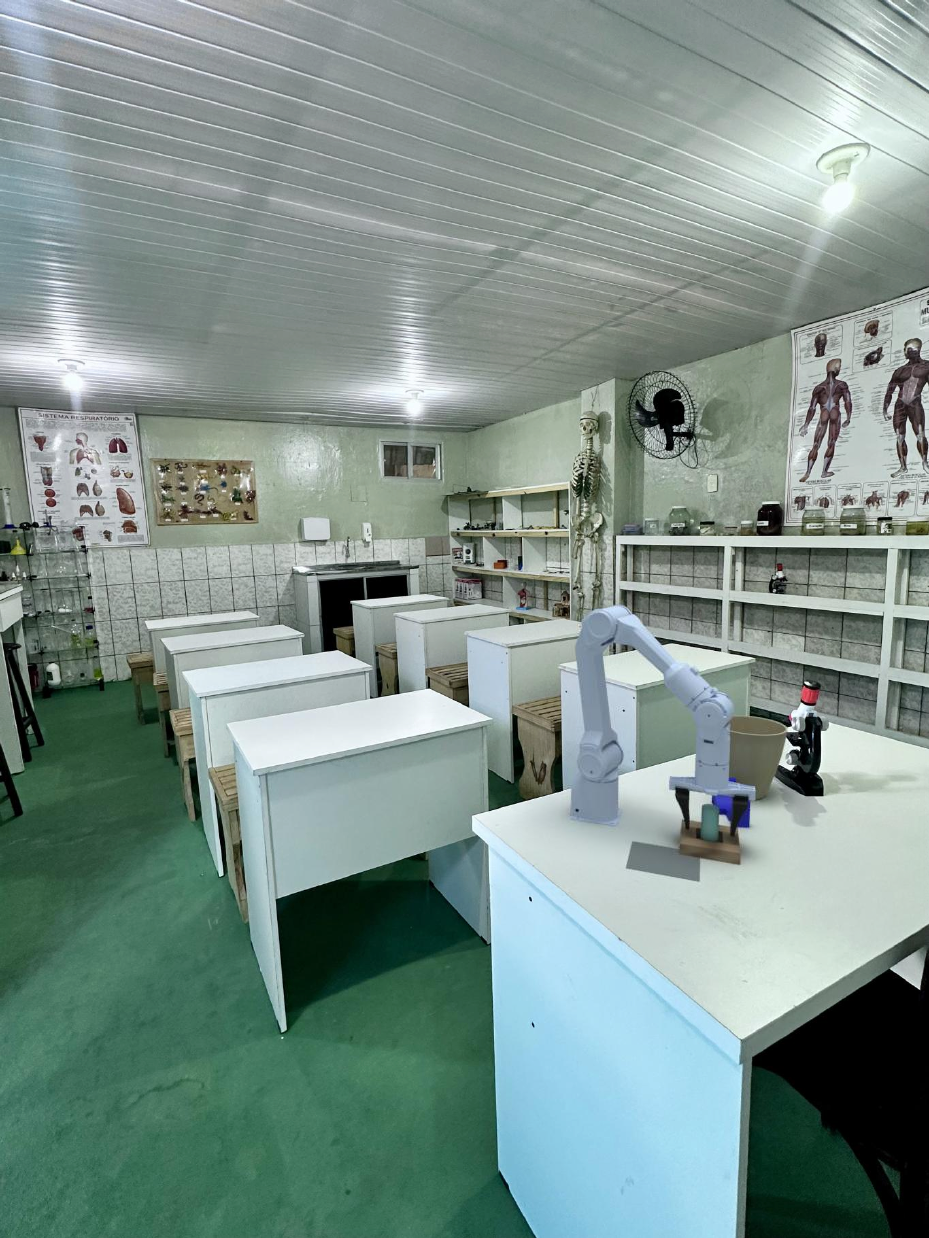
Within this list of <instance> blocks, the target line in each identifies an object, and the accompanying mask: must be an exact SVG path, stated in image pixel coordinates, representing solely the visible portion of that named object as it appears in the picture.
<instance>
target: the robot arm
mask: <svg viewBox="0 0 929 1238" xmlns="http://www.w3.org/2000/svg"><path fill="white" fill-rule="evenodd" d="M630 610H631V609H629V608H628V607H626V606H625V605H622V604H614V605H611V606H609V607H604V608H596V609H594V610H592V611H590V612H589V613H588V614H587V615H586V616H585V617H584V618H583V619H582V620H581V629H580V632H579V633H578V637H577V639H576V642H575V646H574V651H575V659H576V668H577V675H578V678H577V679H578V685H579V694H580V702H581V703H580V704H581V710H582V719H583V727H584V728H583V729H584V732H583V734H582V737H581V738H580V739H581V740H580V741H579V744H578V745H579V754H578V757H577V761H576V762H577V769H578V772H577V771H576V772H575V771H574V773H573V774H572V779H571V788H570V790H571V791H570V801H571V802H570V820H573V821H578V822H579V821H580V822H585V823H593V824H598V825H603V826H611V827H617V826H618V825H619V821H620V819H621V816H622V812H623V809H622V808H620V807H619V777H620V776H619V775H620V774H619V767H620V765H622V763H623V761H624V758H625V757H624V756H625V753H624V749H623V747H622V745H621V744H620V743H619V738H618V733H617V732H616V731H615V730H614V729H613V728H612V723H611V715H610V707H609V697H608V689H607V680H606V672H605V671H606V670H605V663H604V652H606V650H607V649H608V648H609V646H610V645H611V644H612V643H613V644H619V645H623V646H624V645H625V646H631V647H632V648H633V649H635V650H636V651H637V652H638V653H639V654H640V655H641V656H642V657H644V658H645V659H646V660H647V661H648V662H649V663H650V664H652V665H653V667H655V668H656V669H657V670H658V671H659V672H660V673H661V674H663V684H664V685H665V687H666V688H667V689H668V690H670V692H672V694H673V695H674V696H675V697H676V698H677V699H678V700H679V701H680V702H681V703H682V704H684V706H685V707H686V708H687V709H688V710H689V711H691V717H692V720H693V722H694V724H695V725H696V734H695V760H694V764H695V765H694V776H669V780H668V781H669V784H668V789H669V790H670V791H675V793H674V796H675V799H676V802H677V804H678V806H679V808H680V810H681V814H682V817H683V820H684V822H685V829H686V830H689V827H690V821H691V818H690V792H696V793H704V794H705V795H708V796H712V795H714V796H717V795H725V796H732V816H731V822H730V825H729V826H730V836H732V837H735V832H736V828H738V827H737V826H738V823H739V821H740V819H741V817H742V815H743V814H744V812H745V811H746V810H747V808H748V805H749V803H748V800H750V801H754V802H756V799H755V793H756V791H755V787H754V786H747V785H743V784H739V783H734V782H730V781H729V756H730V723H728V722H729V721H730V720H731V719H732V717H733V716H735V709H736V708H735V705H734V703H733V701H732V700H731V698H730V696H729V695H728V694H727V693H724V692H721V691H719V689H718V688H717V687H715V686H713V687H712V685H710V684H709V683H708V681H706V680H705V679H704V677H702V676H701V675H700V674H699V671H700V670H699V668H698V667H697V666H695V665H693V666H691V665H690V664H689V663H687V662H678V661H676V659H675V658H674V657H673V656H672V655H671V654H670V653H669V652H668V650H666V648H665V647H663V645H662V644H661V643H660V641H658V640H657V639H656V638H655V636H654V635H653V634H652V633H651V632H650V631H649V630H648V629H647V628H646V627H645V625H644V624H643V622H642V621H641V620H640V618H639V617H638V616H637V615H635V614H633V613H632V612H631V611H630Z"/></svg>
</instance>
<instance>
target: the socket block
mask: <svg viewBox="0 0 929 1238" xmlns="http://www.w3.org/2000/svg"><path fill="white" fill-rule="evenodd" d="M738 828H739V827H737V828H736V832H735V837H732V836H730V825H729V826H728V825H723V824H719V831H718V842H712V841H706V840H701V821H697V820H696V821H695V820H690V827H689V830H686V829H685V822H684V818H683V819H681V826H680V835H679V836H680V837H679V849H680V851H679V854H681V855H687V856H692V857H698V858H700V859H703V860H710V861H715V862H721V863H727V864H733V865H738V866H739V865H741V854H742V853H741V845H740V836H739V835H740V834H739V829H738Z"/></svg>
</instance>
